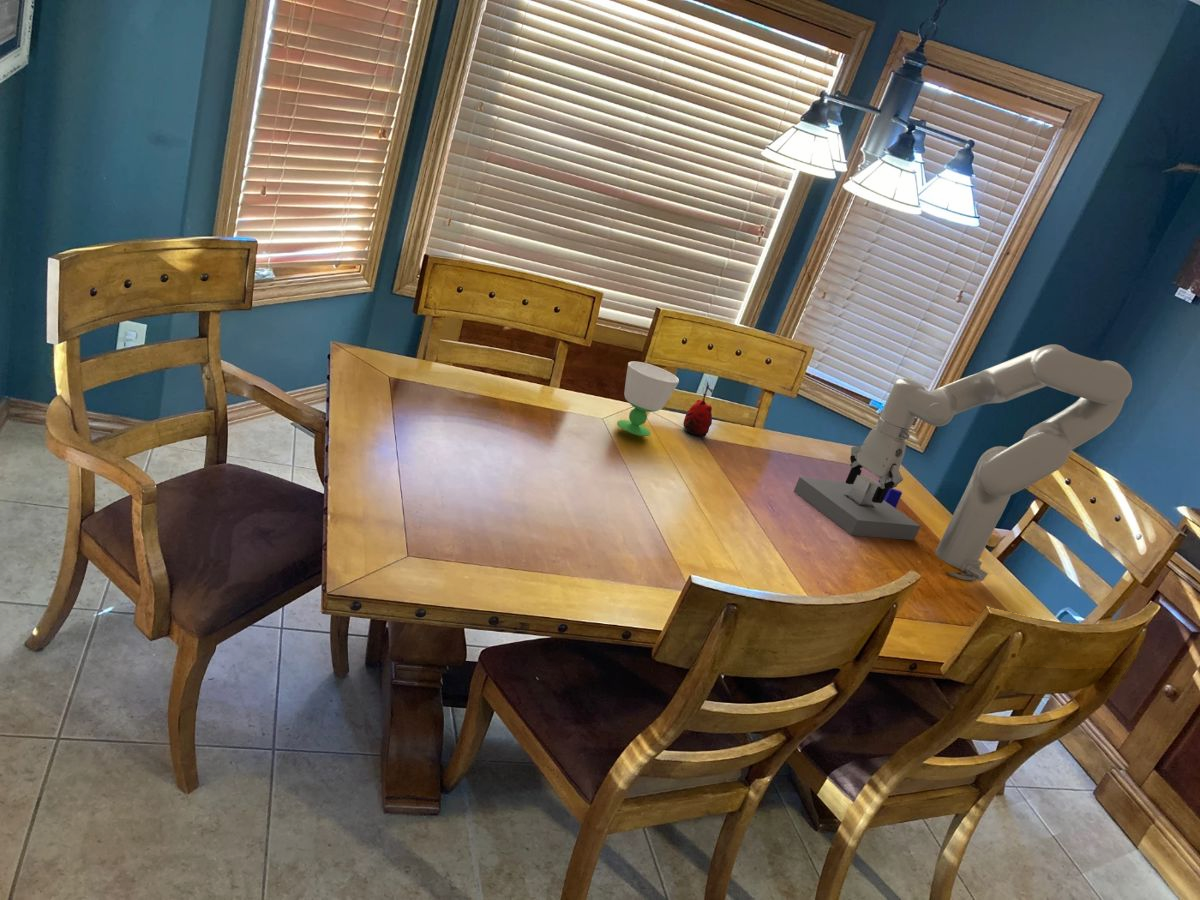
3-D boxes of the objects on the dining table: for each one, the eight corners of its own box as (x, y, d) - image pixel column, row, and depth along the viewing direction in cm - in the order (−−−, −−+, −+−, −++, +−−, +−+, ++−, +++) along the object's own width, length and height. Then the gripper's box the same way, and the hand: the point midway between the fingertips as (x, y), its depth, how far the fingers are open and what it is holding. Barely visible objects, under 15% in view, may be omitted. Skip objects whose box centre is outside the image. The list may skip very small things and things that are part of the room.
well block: (914, 540, 231) (920, 525, 229) (850, 535, 219) (857, 520, 218) (855, 497, 248) (861, 484, 247) (793, 491, 236) (799, 476, 235)
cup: (640, 420, 251) (659, 365, 246) (668, 442, 241) (690, 385, 236) (598, 415, 243) (618, 358, 238) (626, 437, 233) (647, 378, 228)
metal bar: (865, 520, 233) (881, 484, 230) (853, 519, 231) (869, 483, 227) (853, 511, 236) (869, 476, 233) (841, 510, 234) (857, 475, 231)
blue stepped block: (867, 491, 258) (876, 472, 256) (883, 497, 258) (892, 477, 256) (876, 508, 247) (885, 487, 245) (892, 513, 247) (902, 493, 245)
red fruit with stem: (711, 437, 258) (730, 386, 253) (697, 438, 252) (716, 387, 248) (689, 425, 262) (708, 375, 257) (675, 426, 256) (694, 375, 252)
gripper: (927, 446, 221) (897, 510, 227) (878, 417, 235) (850, 478, 240) (906, 443, 217) (876, 508, 223) (856, 413, 231) (829, 475, 236)
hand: (863, 492), depth 232 cm, fingers open, 9 cm apart
